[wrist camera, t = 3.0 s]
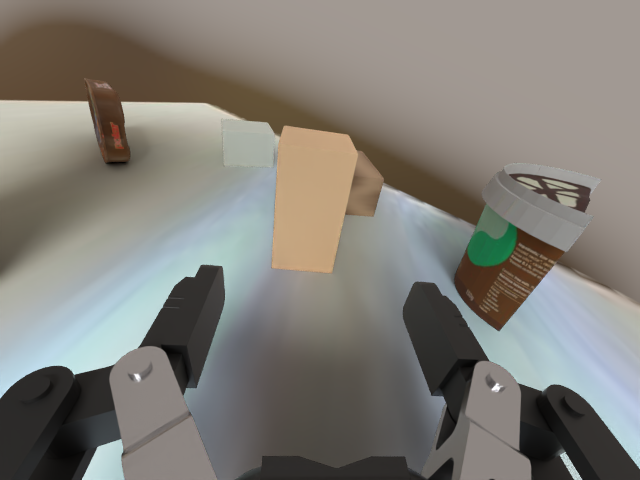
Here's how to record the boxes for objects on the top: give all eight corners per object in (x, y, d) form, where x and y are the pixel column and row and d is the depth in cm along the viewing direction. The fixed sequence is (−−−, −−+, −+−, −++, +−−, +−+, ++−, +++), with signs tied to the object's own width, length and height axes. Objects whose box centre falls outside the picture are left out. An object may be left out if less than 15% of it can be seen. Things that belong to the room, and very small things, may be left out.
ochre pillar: (271, 268, 22) (278, 143, 17) (277, 234, 26) (284, 125, 21) (331, 273, 23) (358, 154, 17) (328, 239, 27) (348, 134, 21)
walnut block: (289, 212, 31) (292, 170, 28) (287, 178, 39) (290, 143, 36) (372, 218, 32) (384, 178, 30) (354, 184, 41) (362, 151, 38)
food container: (468, 243, 30) (517, 153, 25) (529, 273, 27) (601, 178, 21) (415, 291, 22) (470, 175, 17) (493, 342, 19) (593, 219, 13)
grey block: (224, 167, 39) (222, 130, 36) (223, 151, 44) (221, 118, 41) (273, 168, 41) (274, 134, 38) (266, 153, 46) (267, 122, 44)
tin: (96, 137, 41) (76, 72, 36) (121, 136, 43) (105, 74, 38) (108, 173, 32) (84, 93, 27) (139, 171, 34) (122, 95, 29)
